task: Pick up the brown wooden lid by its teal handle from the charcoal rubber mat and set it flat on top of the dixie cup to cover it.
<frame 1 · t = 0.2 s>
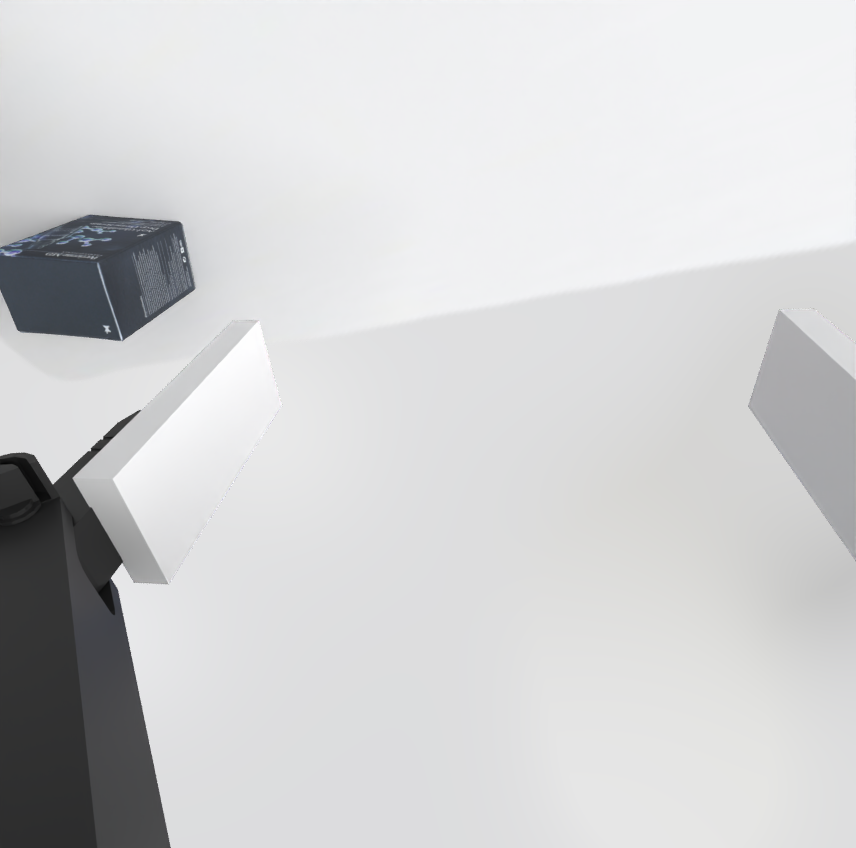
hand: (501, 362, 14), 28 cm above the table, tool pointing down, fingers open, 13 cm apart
box: (146, 251, 43), on the table
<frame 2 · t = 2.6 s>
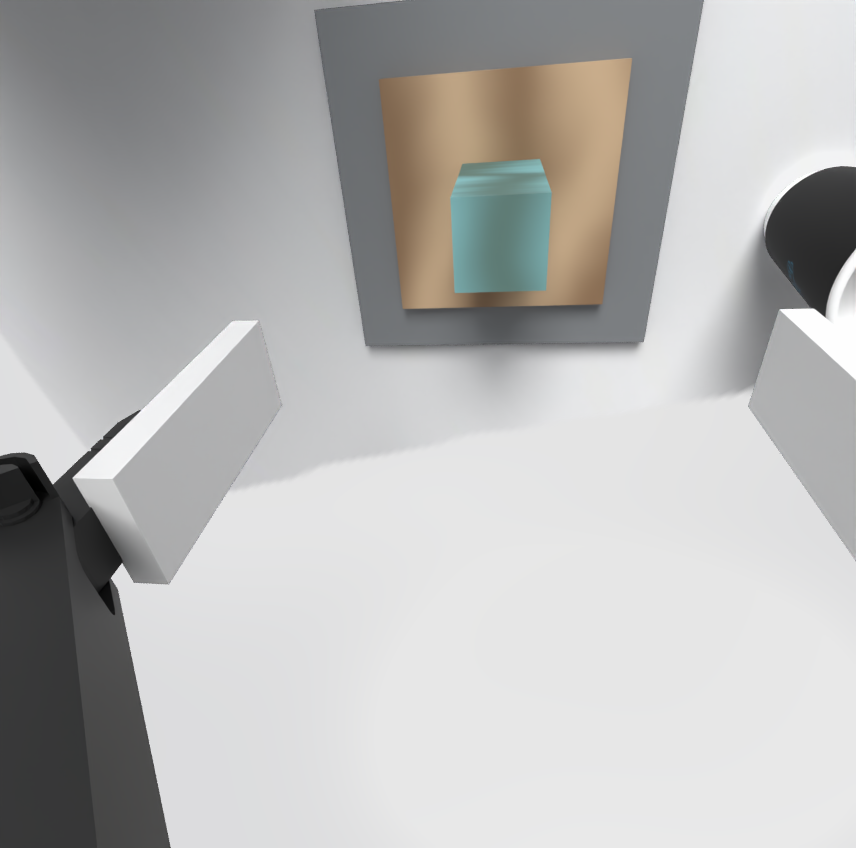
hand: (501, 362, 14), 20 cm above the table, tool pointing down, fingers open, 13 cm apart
mat: (500, 193, 30), on the table
lid: (500, 197, 30), point 1 cm above the table, touching mat
dixie cup: (809, 215, 29), on the table
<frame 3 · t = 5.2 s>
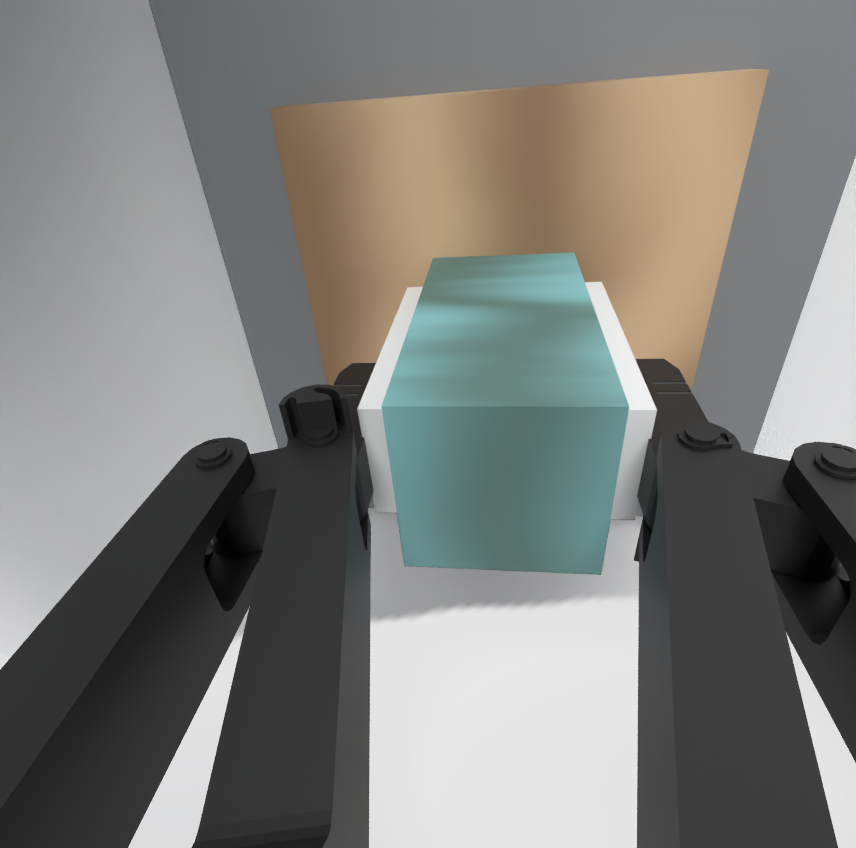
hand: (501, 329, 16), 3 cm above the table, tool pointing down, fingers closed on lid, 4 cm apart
mat: (502, 296, 18), on the table
lid: (502, 307, 17), point 1 cm above the table, touching gripper, mat
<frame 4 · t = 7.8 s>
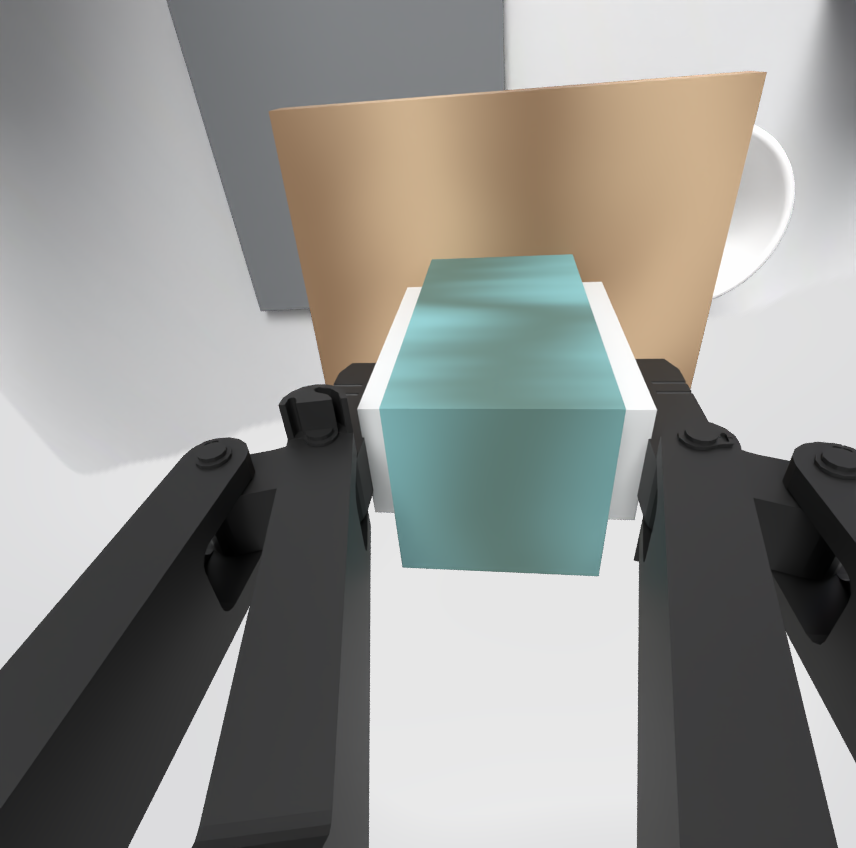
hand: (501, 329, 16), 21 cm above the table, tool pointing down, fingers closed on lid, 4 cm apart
mat: (360, 163, 33), on the table
lid: (500, 309, 17), point 20 cm above the table, touching gripper
dixie cup: (638, 172, 32), on the table
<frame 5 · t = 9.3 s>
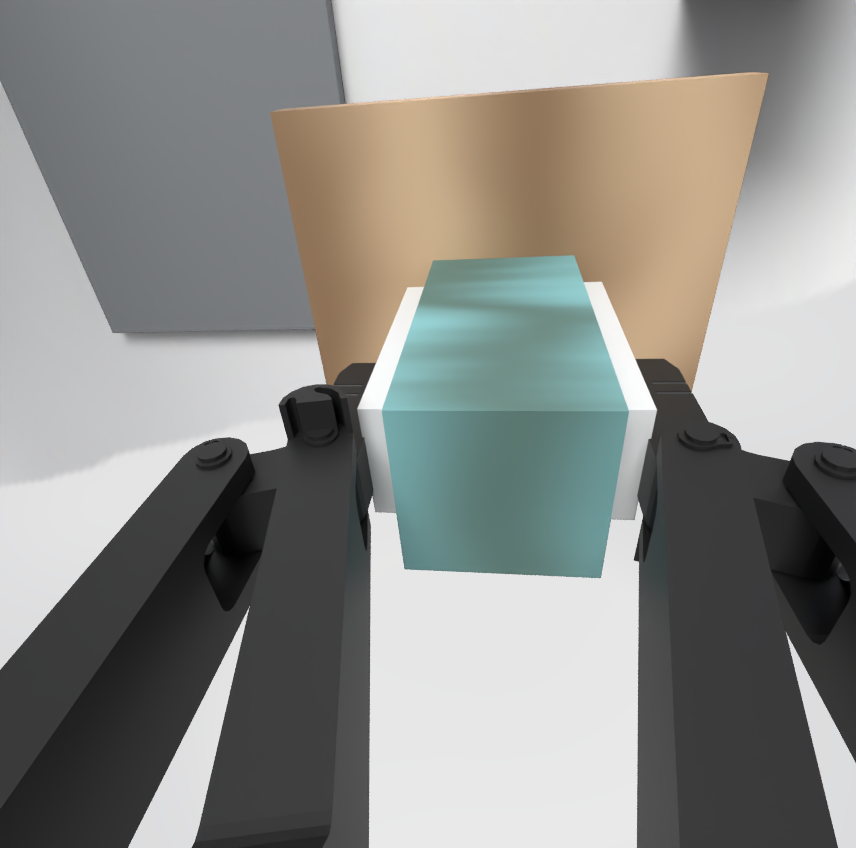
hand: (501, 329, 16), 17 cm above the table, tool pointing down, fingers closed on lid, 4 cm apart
mat: (201, 178, 30), on the table
lid: (502, 310, 17), point 15 cm above the table, touching gripper
when the fingers open (14 cm above the table, at t = 10.5 s): lid drops 2 cm, resting on dixie cup.
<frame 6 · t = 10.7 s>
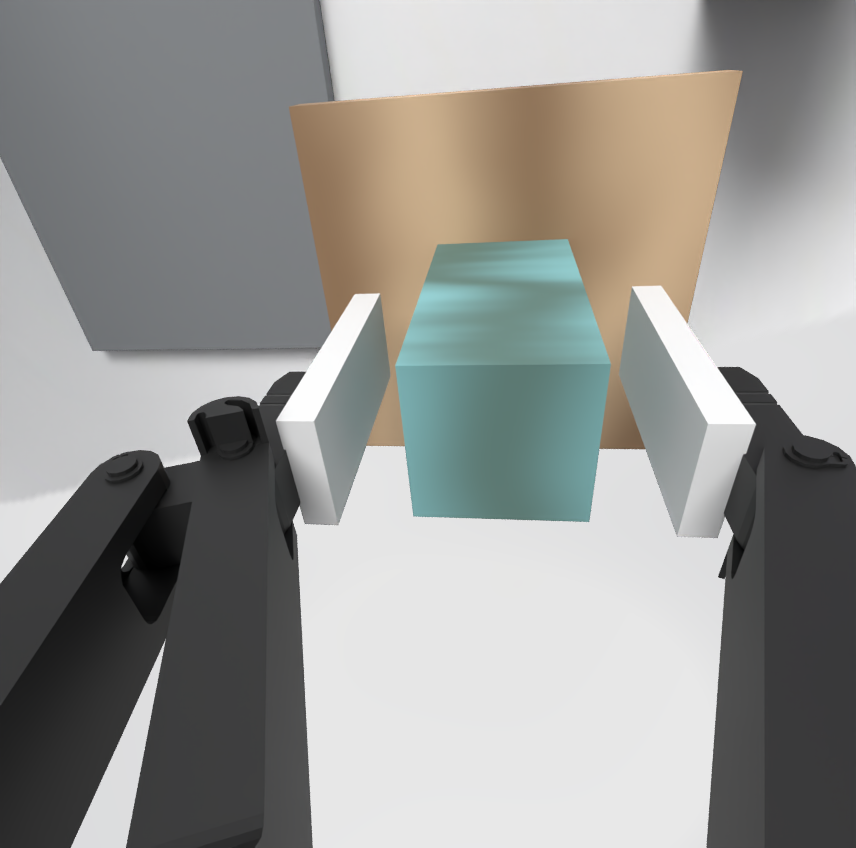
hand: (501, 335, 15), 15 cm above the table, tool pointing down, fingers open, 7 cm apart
mat: (183, 189, 28), on the table
lid: (501, 292, 18), point 11 cm above the table, touching dixie cup
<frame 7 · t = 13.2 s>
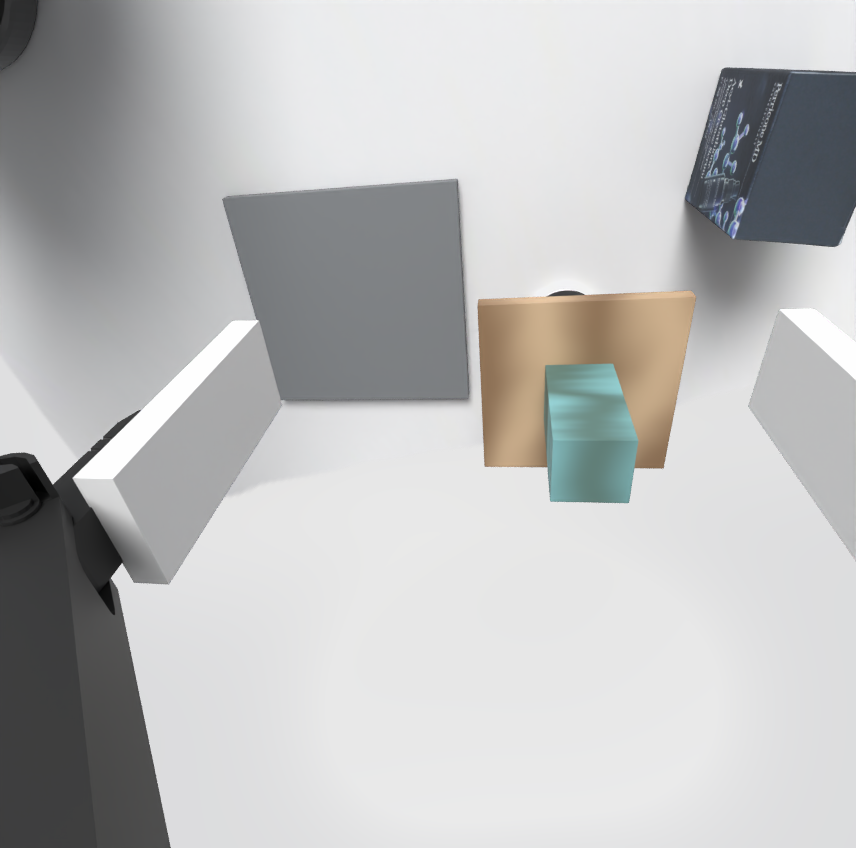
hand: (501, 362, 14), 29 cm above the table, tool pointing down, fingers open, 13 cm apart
mat: (357, 302, 45), on the table
lid: (575, 384, 34), point 11 cm above the table, touching dixie cup
box: (742, 140, 35), on the table
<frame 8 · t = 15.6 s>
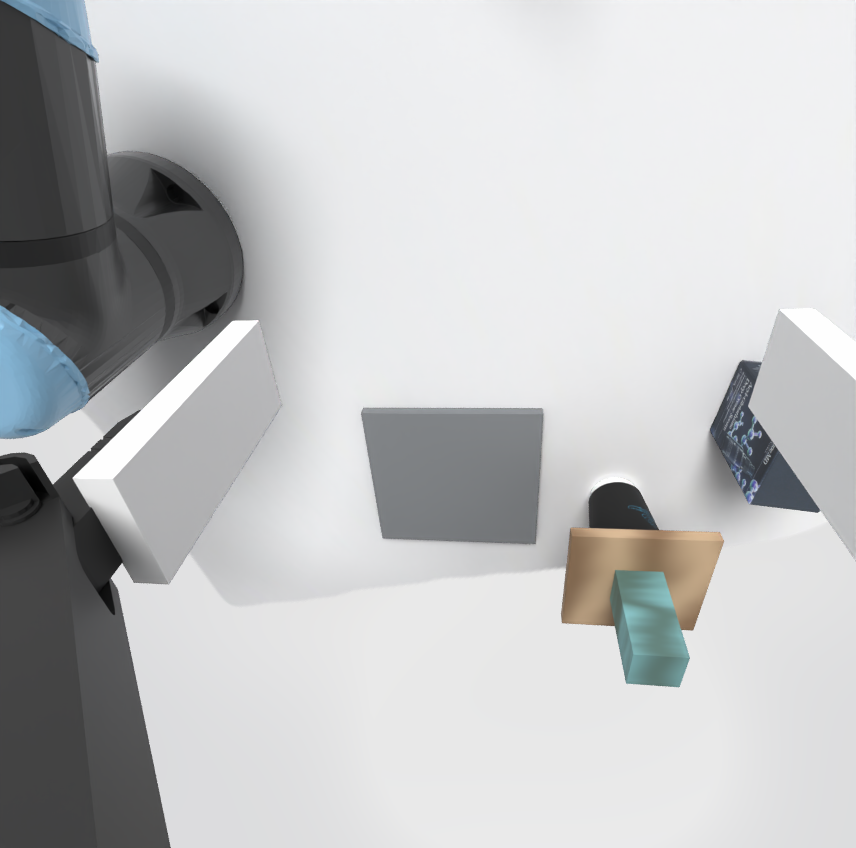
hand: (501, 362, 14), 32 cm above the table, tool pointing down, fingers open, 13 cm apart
mat: (454, 477, 58), on the table
lid: (633, 576, 48), point 11 cm above the table, touching dixie cup
box: (752, 398, 49), on the table
dixie cup: (613, 493, 57), on the table, touching lid
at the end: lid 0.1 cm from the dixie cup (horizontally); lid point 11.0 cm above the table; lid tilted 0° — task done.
